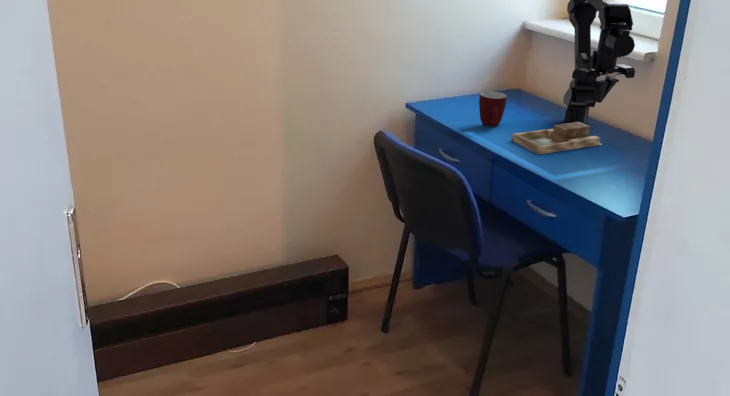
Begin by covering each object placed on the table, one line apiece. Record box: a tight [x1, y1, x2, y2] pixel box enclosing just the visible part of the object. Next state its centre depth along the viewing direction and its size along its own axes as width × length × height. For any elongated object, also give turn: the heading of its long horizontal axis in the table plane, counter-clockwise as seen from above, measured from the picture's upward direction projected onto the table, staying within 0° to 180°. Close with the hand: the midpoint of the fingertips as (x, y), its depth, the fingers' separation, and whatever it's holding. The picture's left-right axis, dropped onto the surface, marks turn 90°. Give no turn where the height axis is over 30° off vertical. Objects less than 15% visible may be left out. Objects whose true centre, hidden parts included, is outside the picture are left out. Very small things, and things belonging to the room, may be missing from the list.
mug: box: [478, 90, 508, 127], centre depth 222 cm, size 11×8×10 cm
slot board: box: [511, 128, 603, 155], centre depth 210 cm, size 23×12×3 cm, turn 117°
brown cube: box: [567, 122, 591, 138], centre depth 213 cm, size 4×4×4 cm
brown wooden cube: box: [552, 122, 577, 143], centre depth 211 cm, size 4×4×4 cm
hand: (598, 102), depth 212 cm, fingers closed
